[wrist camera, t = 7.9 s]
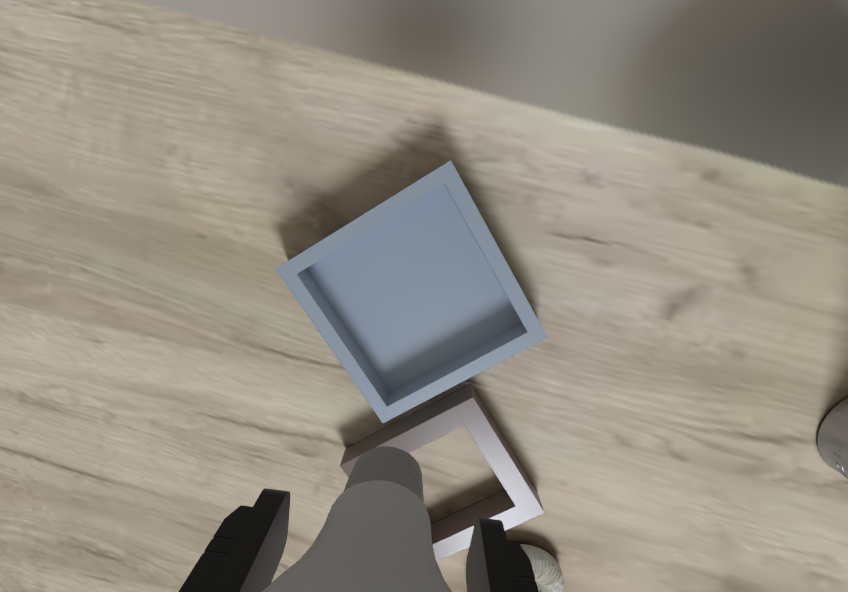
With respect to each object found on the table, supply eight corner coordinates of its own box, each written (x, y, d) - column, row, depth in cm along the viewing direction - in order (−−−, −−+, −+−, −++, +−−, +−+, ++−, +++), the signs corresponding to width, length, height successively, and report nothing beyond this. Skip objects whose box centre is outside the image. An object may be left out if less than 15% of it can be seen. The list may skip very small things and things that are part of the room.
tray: (449, 163, 31) (450, 159, 29) (537, 325, 35) (547, 337, 32) (288, 262, 34) (275, 268, 31) (386, 405, 37) (382, 423, 34)
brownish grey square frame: (470, 383, 36) (472, 397, 34) (537, 493, 39) (544, 512, 37) (345, 448, 38) (339, 465, 36) (418, 548, 41) (417, 570, 39)
